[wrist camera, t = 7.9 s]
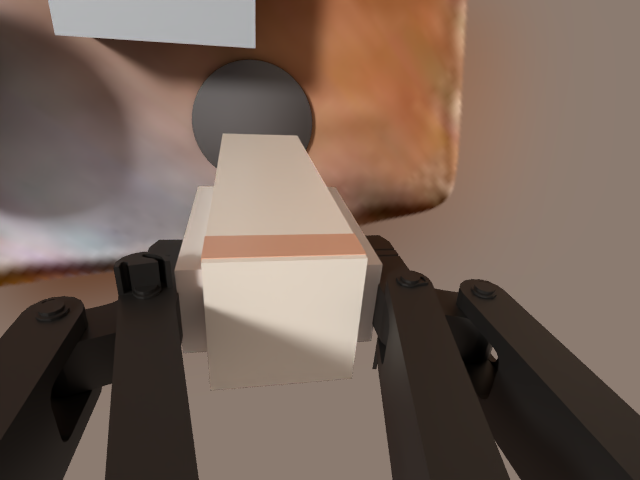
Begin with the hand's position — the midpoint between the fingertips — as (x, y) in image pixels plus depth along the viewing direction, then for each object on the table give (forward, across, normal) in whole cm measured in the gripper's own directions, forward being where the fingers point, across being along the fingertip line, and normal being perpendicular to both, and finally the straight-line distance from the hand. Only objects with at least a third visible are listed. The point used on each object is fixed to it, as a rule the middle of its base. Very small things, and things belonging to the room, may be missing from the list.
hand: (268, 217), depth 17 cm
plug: (+7, 0, 0) cm, 7 cm away
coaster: (+20, 0, 0) cm, 20 cm away
